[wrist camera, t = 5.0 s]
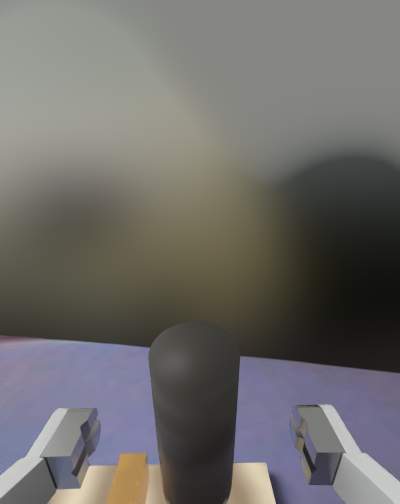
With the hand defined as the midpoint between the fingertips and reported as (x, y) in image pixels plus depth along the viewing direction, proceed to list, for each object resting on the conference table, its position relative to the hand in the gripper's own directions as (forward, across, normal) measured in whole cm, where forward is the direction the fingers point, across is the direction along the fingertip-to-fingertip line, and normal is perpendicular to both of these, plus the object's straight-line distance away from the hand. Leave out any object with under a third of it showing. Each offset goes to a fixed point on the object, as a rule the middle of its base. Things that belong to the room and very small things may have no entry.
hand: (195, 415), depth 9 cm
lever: (0, 0, +18) cm, 18 cm away
